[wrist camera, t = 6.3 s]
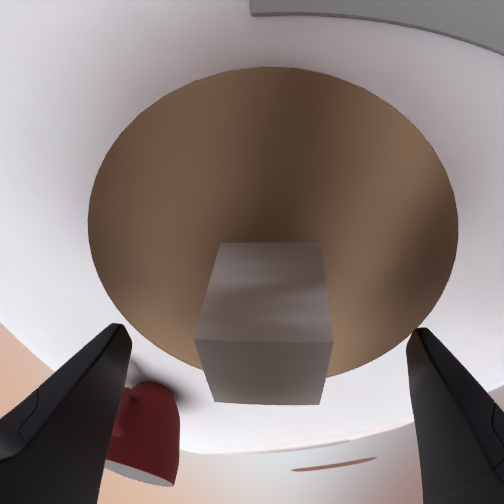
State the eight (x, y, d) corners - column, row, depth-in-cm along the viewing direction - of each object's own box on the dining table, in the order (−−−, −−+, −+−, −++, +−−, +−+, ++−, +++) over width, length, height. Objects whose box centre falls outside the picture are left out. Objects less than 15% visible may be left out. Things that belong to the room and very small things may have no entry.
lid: (477, 90, 7) (582, 135, 3) (400, 365, 15) (416, 442, 11) (60, 103, 8) (-43, 152, 4) (150, 361, 16) (126, 435, 12)
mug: (93, 355, 27) (57, 438, 19) (156, 353, 25) (123, 456, 17) (145, 406, 33) (125, 478, 25) (204, 408, 31) (189, 490, 23)
